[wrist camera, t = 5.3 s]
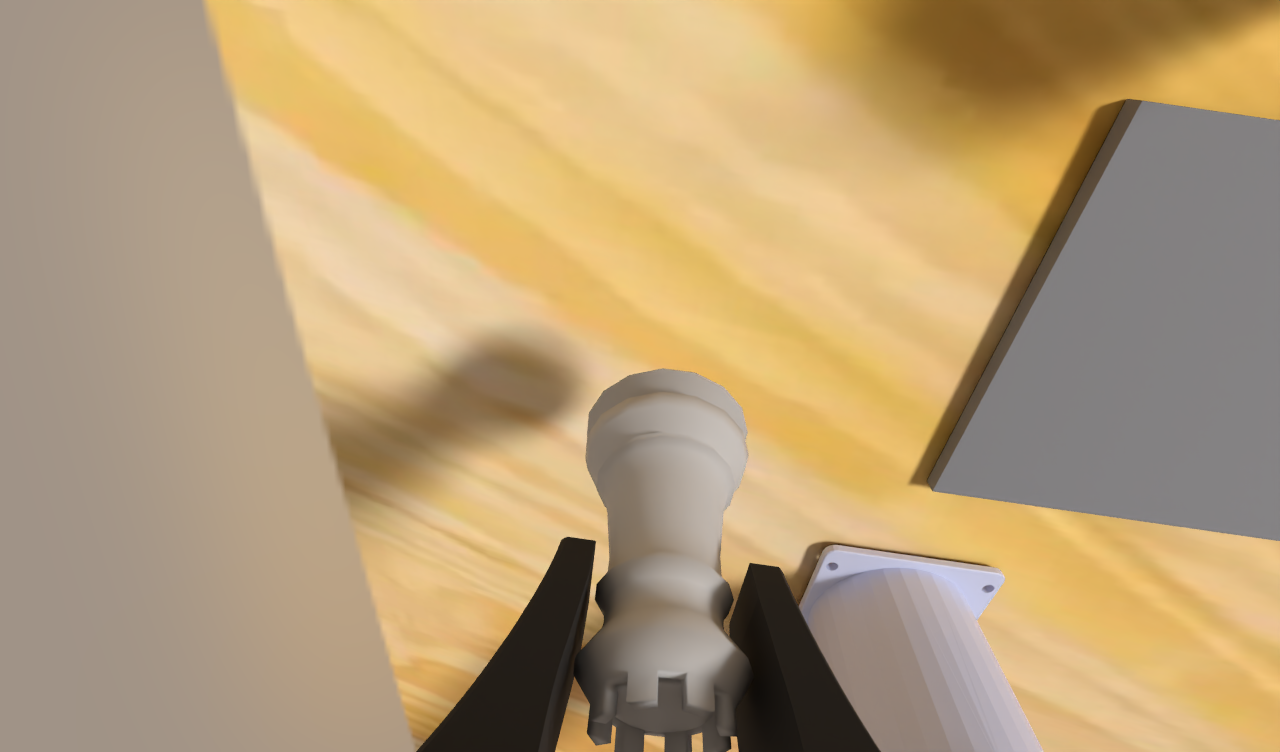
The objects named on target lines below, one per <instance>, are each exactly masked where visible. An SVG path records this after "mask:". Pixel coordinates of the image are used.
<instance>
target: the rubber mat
mask: <svg viewBox="0 0 1280 752" xmlns="http://www.w3.org/2000/svg"><path fill="white" fill-rule="evenodd" d="M927 482H928V484H929V486H930V487H931V489H932V491H935V492H942V493H948V494H955V495H962V496H969V497H976V498H983V499H990V500H997V501H1004V502H1011V503H1018V504H1025V505H1032V506H1039V507H1046V508H1053V509H1060V510H1067V511H1074V512H1081V513H1088V514H1095V515H1102V516H1109V517H1116V518H1123V519H1130V520H1137V521H1144V522H1151V523H1158V524H1165V525H1172V526H1179V527H1186V528H1193V529H1200V530H1207V531H1214V532H1220V533H1227V534H1234V535H1241V536H1248V537H1255V538H1262V539H1269V540H1276V541H1280V121H1279V120H1272V119H1266V118H1259V117H1252V116H1245V115H1238V114H1231V113H1224V112H1217V111H1210V110H1203V109H1196V108H1190V107H1183V106H1176V105H1169V104H1162V103H1155V102H1148V101H1141V100H1132V99H1127V100H1126V102H1125V103H1124V105H1123V107H1122V109H1121V111H1120V113H1119V115H1118V117H1117V119H1116V121H1115V123H1114V124H1113V126H1112V128H1111V130H1110V132H1109V134H1108V136H1107V138H1106V140H1105V142H1104V144H1103V145H1102V147H1101V149H1100V151H1099V153H1098V155H1097V157H1096V159H1095V161H1094V163H1093V165H1092V167H1091V168H1090V170H1089V172H1088V174H1087V176H1086V178H1085V180H1084V182H1083V184H1082V186H1081V188H1080V189H1079V191H1078V193H1077V195H1076V197H1075V199H1074V201H1073V203H1072V205H1071V207H1070V209H1069V210H1068V212H1067V214H1066V216H1065V218H1064V220H1063V222H1062V224H1061V226H1060V228H1059V230H1058V231H1057V233H1056V235H1055V237H1054V239H1053V241H1052V243H1051V245H1050V247H1049V249H1048V251H1047V253H1046V254H1045V256H1044V258H1043V260H1042V262H1041V264H1040V266H1039V268H1038V270H1037V272H1036V274H1035V275H1034V277H1033V279H1032V281H1031V283H1030V285H1029V287H1028V289H1027V291H1026V293H1025V295H1024V296H1023V298H1022V300H1021V302H1020V304H1019V306H1018V308H1017V310H1016V312H1015V314H1014V316H1013V317H1012V319H1011V321H1010V323H1009V325H1008V327H1007V329H1006V331H1005V333H1004V335H1003V337H1002V339H1001V340H1000V342H999V344H998V346H997V348H996V350H995V352H994V354H993V356H992V358H991V360H990V361H989V363H988V365H987V367H986V369H985V371H984V373H983V375H982V377H981V379H980V381H979V382H978V384H977V386H976V388H975V390H974V392H973V394H972V396H971V398H970V400H969V402H968V403H967V405H966V407H965V409H964V411H963V413H962V415H961V417H960V419H959V421H958V423H957V425H956V426H955V428H954V430H953V432H952V434H951V436H950V438H949V440H948V442H947V444H946V446H945V447H944V449H943V451H942V453H941V455H940V457H939V459H938V461H937V463H936V465H935V467H934V468H933V470H932V472H931V474H930V476H929V478H928V480H927Z"/></svg>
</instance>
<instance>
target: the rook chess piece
mask: <svg viewBox="0 0 1280 752" xmlns="http://www.w3.org/2000/svg"><path fill="white" fill-rule="evenodd" d="M747 433H748V432H747V428H746V423H745V419H744V414H743V410H742V408H741V406H740V405H739V404H738V403H737V402H736V401H735V399H734V398H733V397H732V396H731V395H730V394H729V392H728V391H727V390H726V389H725V388H724V387H723V386H721V385H719V384H717V383H715V382H713V381H711V380H709V379H707V378H705V377H703V376H701V375H699V374H697V373H693V372H687V371H679V370H671V369H658V370H653V371H648V372H643V373H638V374H633V375H629V376H627V377H626V378H624V379H622V380H621V381H619V382H618V383H616V384H614V385H613V386H611V387H610V388H608V389H606V390H605V391H603V393H602V394H601V396H600V397H599V399H598V400H597V402H596V403H595V405H594V406H593V408H592V409H591V411H590V412H589V420H588V432H587V446H586V463H587V468H588V471H589V473H590V475H591V477H592V479H593V481H594V484H595V486H596V488H597V491H598V493H599V495H600V497H601V499H602V501H603V504H604V506H605V507H606V508H607V513H608V534H609V557H610V558H609V567H608V572H607V573H606V575H605V576H604V577H603V578H602V579H601V580H600V581H599V582H598V583H597V587H596V595H595V601H596V603H597V604H598V606H599V608H600V610H601V612H602V613H603V615H604V624H603V627H602V629H601V630H600V631H599V632H598V633H597V634H596V635H595V636H594V637H593V638H592V639H591V640H590V641H589V642H588V643H587V644H586V646H585V647H584V648H583V649H582V650H581V651H580V652H579V653H578V654H577V655H576V656H575V661H574V672H573V675H574V676H575V678H576V680H577V682H578V684H579V685H580V687H581V689H582V691H583V692H584V694H585V696H586V698H587V699H588V701H589V703H590V711H589V719H588V728H587V734H588V735H589V737H590V738H591V739H592V741H593V742H594V743H595V745H602V744H608V743H611V732H612V725H613V726H615V727H616V738H615V751H614V752H643V751H644V735H653V736H662V737H665V752H692V739H691V735H694V734H698V733H701V732H702V733H703V752H726V751H728V750H730V749H731V738H730V736H738V734H737V722H736V710H735V709H736V708H737V706H738V705H739V703H740V702H741V700H742V698H743V697H744V695H745V694H746V692H747V690H748V688H749V686H750V684H751V682H752V680H753V678H754V675H753V672H752V669H751V665H750V662H749V659H748V658H747V656H746V655H745V654H744V653H743V652H742V651H741V649H740V648H739V647H738V646H737V645H736V644H735V643H734V641H733V640H732V639H731V638H730V637H729V636H728V635H727V633H726V632H725V631H724V628H723V622H724V619H725V618H726V617H727V615H728V614H729V611H730V608H731V606H732V603H733V601H734V599H733V596H732V592H731V589H730V586H729V584H728V583H727V582H726V581H725V580H724V579H723V578H722V575H721V563H720V551H721V538H722V525H723V512H724V510H725V509H726V508H727V507H728V506H729V505H730V503H731V500H732V496H733V493H734V491H735V490H736V489H737V488H738V487H739V485H740V482H741V479H742V476H743V473H744V470H745V467H746V463H747V459H748V450H747V446H746V442H745V439H746V436H747Z"/></svg>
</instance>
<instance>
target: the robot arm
mask: <svg viewBox="0 0 1280 752" xmlns="http://www.w3.org/2000/svg"><path fill="white" fill-rule="evenodd" d="M595 544H596V541H593V540H586V539H579V538H572V537H566V538H564V539H562V540H561V542H560V545H559V547H558V550H557V552H556V554H555V556H554V559H553V561H552V563H551V565H550V567H549V569H548V571H547V572H546V574H545V576H544V578H543V580H542V582H541V583H540V585H539V587H538V589H537V590H536V592H535V594H534V596H533V597H532V599H531V600H530V602H529V603H528V605H527V607H526V608H525V610H524V611H523V613H522V615H521V616H520V618H519V619H518V621H517V623H516V624H515V626H514V627H513V629H512V630H511V632H510V633H509V635H508V636H507V638H506V639H505V640H504V642H503V643H502V645H501V646H500V647H499V649H498V650H497V652H496V653H495V654H494V656H493V657H492V659H491V660H490V662H489V663H488V664H487V666H486V667H485V669H484V670H483V671H482V673H481V674H480V675H479V676H478V678H477V679H476V680H475V682H474V683H473V684H472V686H471V687H470V688H469V690H468V691H467V692H466V693H465V695H464V696H463V697H462V698H461V700H460V701H459V702H458V703H457V704H456V706H455V707H454V708H453V709H452V711H451V712H450V713H449V714H448V716H447V717H446V718H445V719H444V720H443V721H442V723H441V724H440V725H439V726H438V727H437V728H436V730H435V731H434V732H433V733H432V734H431V735H430V736H429V738H428V739H427V740H426V741H425V742H424V743H423V745H422V746H421V747H420V748H419V749H418V750H417V751H416V752H555V749H556V745H557V741H558V738H559V734H560V730H561V726H562V722H563V718H564V714H565V711H566V707H567V703H568V699H569V695H570V691H571V687H572V684H573V680H574V675H573V672H574V661H575V656H576V655H577V654H578V653H579V652H580V651H581V646H582V640H583V634H584V628H585V622H586V616H587V610H588V604H589V596H590V587H591V579H592V570H593V561H594V553H595ZM1004 581H1005V577H1004V575H1003V573H1002V572H1001V570H999V569H998V568H994V567H988V566H981V565H974V564H967V563H960V562H953V561H946V560H939V559H932V558H925V557H918V556H911V555H904V554H897V553H890V552H883V551H876V550H869V549H862V548H855V547H848V546H841V545H830V546H828V547H826V548H825V549H824V550H823V551H822V554H821V556H820V558H819V561H818V563H817V565H816V568H815V570H814V572H813V575H812V577H811V579H810V582H809V584H808V586H807V589H806V591H805V593H804V596H803V598H802V600H801V602H800V605H799V606H798V604H797V602H796V600H795V598H794V596H793V594H792V592H791V589H790V587H789V585H788V583H787V581H786V579H785V576H784V574H783V572H782V571H781V569H780V568H779V567H774V566H767V565H760V564H753V563H750V564H749V567H748V570H747V573H746V576H745V579H744V582H743V585H742V588H741V591H740V594H739V597H738V600H737V603H736V606H735V609H734V612H733V615H732V618H731V621H730V624H729V626H730V638H731V639H732V640H733V641H734V643H735V644H736V645H737V646H738V647H739V648H740V649H741V651H742V652H743V653H744V654H745V655H746V656H747V658H748V659H749V662H750V665H751V669H752V672H753V675H754V678H753V680H752V682H751V684H750V686H749V688H748V690H747V692H746V694H745V695H744V697H743V698H742V700H741V702H740V703H739V705H738V706H737V708H736V709H735V710H736V722H737V734H738V736H737V740H738V749H739V752H1044V751H1043V749H1042V747H1041V745H1040V743H1039V741H1038V739H1037V737H1036V736H1035V734H1034V732H1033V730H1032V728H1031V726H1030V724H1029V722H1028V720H1027V718H1026V716H1025V714H1024V712H1023V710H1022V708H1021V706H1020V704H1019V702H1018V700H1017V698H1016V696H1015V694H1014V692H1013V690H1012V688H1011V686H1010V685H1009V683H1008V681H1007V679H1006V677H1005V675H1004V673H1003V671H1002V669H1001V667H1000V665H999V663H998V661H997V659H996V657H995V655H994V653H993V651H992V649H991V647H990V645H989V643H988V641H987V639H986V637H985V636H984V634H983V632H982V630H981V628H980V626H979V624H978V622H977V619H978V618H979V617H980V615H981V614H982V612H983V611H984V610H985V608H986V607H987V605H988V604H989V602H990V601H991V600H992V598H993V597H994V595H995V594H996V593H997V591H998V590H999V588H1000V587H1001V586H1002V584H1003V583H1004Z"/></svg>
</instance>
